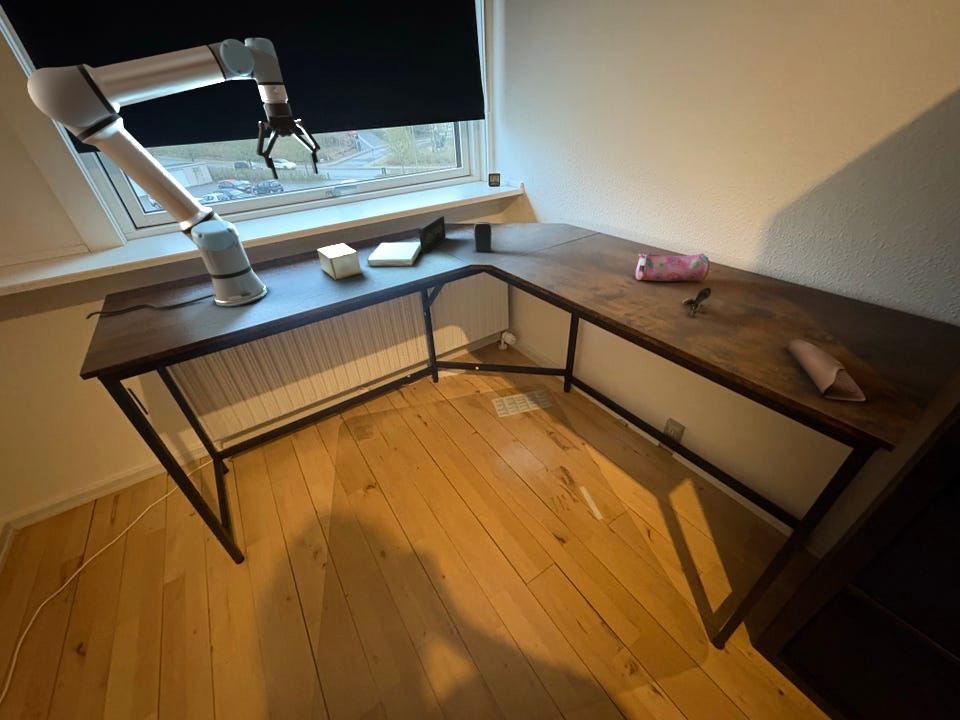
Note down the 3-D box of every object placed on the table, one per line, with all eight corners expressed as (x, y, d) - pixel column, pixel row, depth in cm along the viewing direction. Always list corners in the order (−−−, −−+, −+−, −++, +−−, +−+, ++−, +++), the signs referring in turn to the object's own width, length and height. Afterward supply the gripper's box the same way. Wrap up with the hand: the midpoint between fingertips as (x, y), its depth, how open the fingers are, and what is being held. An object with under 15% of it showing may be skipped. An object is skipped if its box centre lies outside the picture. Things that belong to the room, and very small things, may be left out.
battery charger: (492, 249, 157) (492, 221, 151) (491, 252, 154) (491, 223, 148) (476, 249, 158) (474, 221, 152) (474, 252, 155) (473, 223, 149)
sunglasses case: (871, 401, 74) (867, 376, 71) (826, 410, 77) (821, 387, 75) (824, 351, 88) (819, 329, 86) (788, 361, 92) (783, 340, 89)
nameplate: (442, 238, 172) (440, 215, 167) (445, 238, 172) (443, 215, 166) (421, 253, 156) (418, 228, 151) (425, 253, 156) (422, 228, 150)
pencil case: (636, 284, 124) (641, 257, 119) (631, 274, 131) (636, 248, 126) (705, 286, 121) (715, 259, 116) (697, 275, 128) (705, 249, 123)
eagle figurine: (715, 316, 102) (716, 297, 108) (706, 296, 100) (707, 278, 105) (685, 324, 108) (687, 305, 113) (675, 305, 105) (678, 287, 110)
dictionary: (322, 269, 144) (317, 249, 139) (347, 263, 149) (343, 243, 144) (335, 279, 135) (329, 258, 131) (361, 272, 140) (356, 251, 136)
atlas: (368, 266, 146) (367, 259, 144) (382, 248, 162) (381, 242, 161) (411, 265, 145) (410, 259, 143) (421, 248, 161) (420, 242, 160)
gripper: (234, 103, 111) (261, 182, 123) (319, 100, 123) (335, 172, 135) (230, 104, 116) (255, 179, 128) (311, 101, 128) (328, 170, 140)
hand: (296, 176), depth 131 cm, fingers open, 13 cm apart
